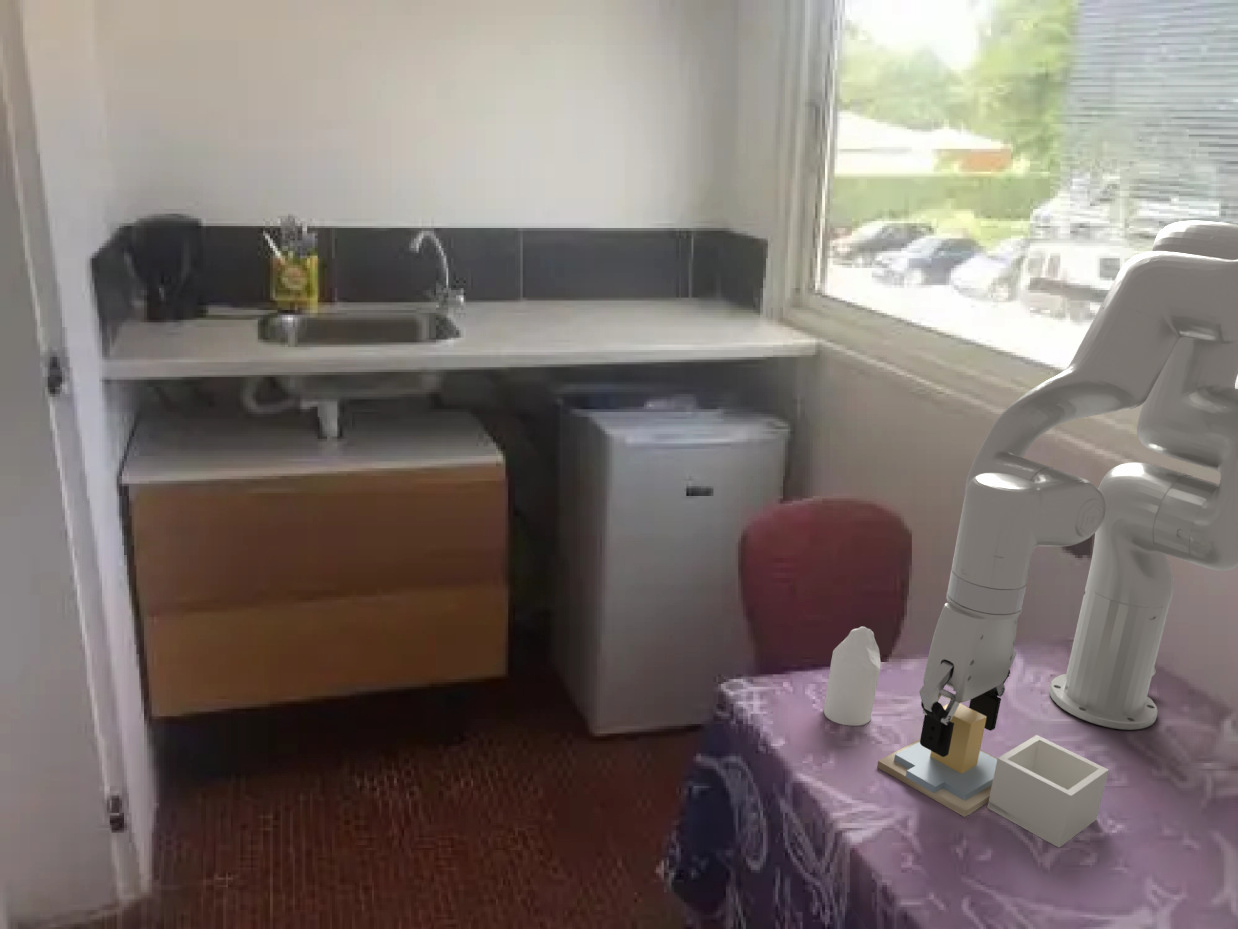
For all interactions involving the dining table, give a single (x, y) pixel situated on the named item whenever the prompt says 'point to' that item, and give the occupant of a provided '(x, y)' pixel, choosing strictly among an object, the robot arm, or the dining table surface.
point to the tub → (1047, 790)
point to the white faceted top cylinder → (853, 679)
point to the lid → (953, 759)
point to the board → (941, 795)
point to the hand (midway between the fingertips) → (957, 737)
